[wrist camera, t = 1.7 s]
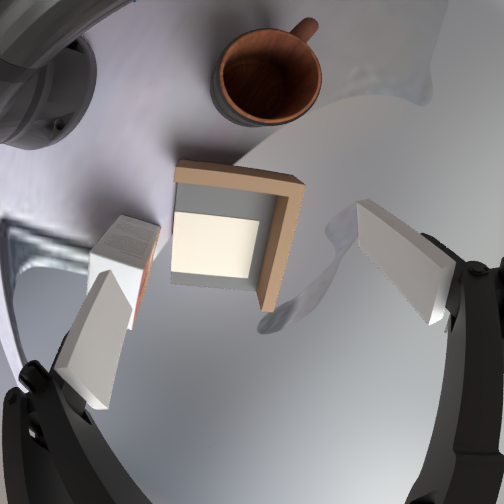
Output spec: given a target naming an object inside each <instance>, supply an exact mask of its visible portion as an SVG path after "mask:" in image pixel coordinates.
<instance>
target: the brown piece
mask: <svg viewBox="0 0 504 504" xmlns="http://www.w3.org/2000/svg"><path fill="white" fill-rule="evenodd" d="M173 182H178V184H177V194H176V204H175V215H174V228H173V243H172V262H171V284H177V285H187V286H198V287H210V288H221V289H233V290H246V291H256V292H257V296H258V300H259V304H260V308H261V311H262V312H273V311H274V307H275V303H276V300H277V296H278V293H279V289H280V285H281V282H282V278H283V275H284V271H285V267H286V263H287V260H288V256H289V252H290V248H291V244H292V240H293V237H294V233H295V229H296V225H297V221H298V217H299V213H300V208H301V204H302V200H303V196H304V192H305V188H306V185H305V184H304V183H303V182H301V181H300V180H299V179H297V178H296V177H295V176H293V175H289V174H283V173H278V172H272V171H265V170H260V169H253V168H246V167H240V166H233V165H226V164H218V163H210V162H201V161H192V160H182V159H181V160H180V161H179V162H178V164H177V165H176V166H175V172H174V181H173Z"/></svg>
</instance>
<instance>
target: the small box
mask: <svg viewBox="0 0 504 504" xmlns="http://www.w3.org/2000/svg"><path fill="white" fill-rule="evenodd" d="M160 230H161V227H160V226H157V225H154V224H151V223H148V222H144V221H141V220H138V219H135V218H131V217H128V216H125V215H120V216H119V217H118V218H117V219H116V220H115V222H114V223H113V224H112V225H111V226H110V227H109V229H108V230H107V231H106V232H105V233H104V234H103V236H102V237H101V238H100V239H99V241H98V242H97V243H96V244H95V245H94V247H93V248H92V249H91V251H90V252H89V267H88V281H87V295H88V293H89V291H90V289H91V287H92V285H93V283H94V282H95V280H96V278H97V276H98V274H99V273H100V272H103V271H107V270H110V269H111V271H112V273H113V275H114V276H115V278H116V280H117V282H118V284H119V286H120V288H121V289H122V291H123V293H124V295H125V297H126V298H127V300H128V302H129V304H130V305H131V307H132V309H133V310H132V313H131V317H130V320H129V324H128V327H127V329H130V330H132V329H133V326H134V322H135V319H136V316H137V312H138V309H139V306H140V303H141V300H142V297H143V293H144V290H145V287H146V284H147V281H148V278H149V273H150V268H151V264H152V260H153V256H154V252H155V248H156V245H157V241H158V237H159V234H160ZM87 295H86V297H87Z"/></svg>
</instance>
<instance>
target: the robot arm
mask: <svg viewBox="0 0 504 504" xmlns="http://www.w3.org/2000/svg"><path fill="white" fill-rule="evenodd" d="M136 1H138V0H0V144H6V145H9V146H13V147H16V148H20V149H24V150H35V149H40V148H43V147H47V146H50V145H53V144H55V143H57V142H59V141H60V140H62V139H63V138H65V137H66V136H67V135H68V134H69V133H70V132H71V131H72V130H73V129H74V128H75V127H76V126H77V124H78V123H79V122H80V120H81V119H82V117H83V116H84V114H85V112H86V110H87V108H88V106H89V104H90V102H91V99H92V96H93V93H94V89H95V84H96V76H97V69H96V61H95V57H94V54H93V51H92V49H91V48H90V46H89V45H88V43H87V42H86V41H85V40H83V39H82V38H80V37H79V36H80V35H82V34H83V33H84V32H86V31H87V30H88V29H90V28H91V27H92V26H94V25H95V24H97V23H98V22H100V21H101V20H103V19H104V18H106V17H107V16H109V15H111V14H112V13H114V12H116V11H117V10H119V9H120V8H122V7H124V6H126V5H127V4H129V3H131V2H136ZM356 203H357V218H358V237H359V248H360V249H361V251H362V252H363V253H364V254H365V255H366V256H367V257H368V258H369V259H370V260H371V261H372V262H373V263H374V264H375V265H376V266H377V267H378V269H380V271H381V272H382V273H383V274H384V275H385V276H386V277H387V278H388V279H389V280H390V281H391V283H392V284H393V285H394V286H395V287H396V288H397V289H398V291H399V292H400V293H401V294H402V295H403V296H404V297H405V298H406V300H407V301H408V302H409V303H410V304H411V306H412V307H413V308H414V309H415V310H416V311H417V313H418V314H419V315H420V316H421V317H422V318H423V320H424V321H425V322H426V323H427V325H428V326H429V325H431V324H433V323H435V322H437V321H439V320H441V319H442V317H443V314H444V310H445V307H446V309H447V310H448V311H449V312H450V317H449V319H448V323H447V326H446V329H445V333H446V332H447V330H448V339H447V353H446V361H445V370H444V378H443V384H442V390H441V396H440V401H439V407H438V411H437V416H436V420H435V425H434V430H433V433H432V437H431V440H430V444H429V448H428V451H427V454H426V458H425V461H424V464H423V467H422V470H421V472H420V475H419V477H418V478H417V480H416V482H415V483H414V485H413V487H412V489H411V491H410V493H409V495H408V497H407V499H406V502H405V504H496V501H497V498H498V494H499V490H500V487H501V482H502V478H503V474H504V455H503V454H501V453H500V452H499V449H498V448H499V439H500V431H501V421H502V410H503V384H504V382H503V381H504V375H503V372H504V257H503V258H502V260H501V264H500V267H499V268H492V269H489V268H488V267H487V266H486V265H485V264H483V263H481V262H478V261H468V262H465V261H464V260H462V259H461V258H460V257H459V256H458V255H456V254H455V253H454V252H453V251H451V250H450V249H449V248H446V246H445V245H443V244H442V243H440V242H439V241H438V240H437V239H435V238H434V237H432V236H430V235H427V234H425V233H421V234H419V233H418V232H417V231H415V230H414V229H412V228H411V227H410V226H408V225H407V224H406V223H404V222H403V221H401V220H400V219H398V218H397V217H396V216H394V215H393V214H391V213H390V212H388V211H387V210H385V209H384V208H382V207H381V206H379V205H378V204H376V203H375V202H373V201H371V200H370V199H366V200H362V201H358V202H356ZM132 310H133V309H132V307H131V305H130V304H129V302H128V300H127V298H126V297H125V295H124V293H123V291H122V289H121V288H120V286H119V284H118V282H117V280H116V278H115V276H114V275H113V273H112V271H111V269H110V270H107V271H103V272H100V273H99V274H98V276H97V278H96V280H95V282H94V283H93V285H92V287H91V289H90V291H89V293H88V295H87V297H86V299H85V301H84V302H83V305H82V307H81V309H80V310H79V313H78V315H77V317H76V319H75V321H74V323H73V325H72V327H71V329H70V330H69V331H68V333H67V334H66V335H65V336H64V338H63V341H62V343H61V346H60V347H59V350H58V353H57V354H56V357H55V359H54V362H53V364H52V367H51V369H50V371H49V373H48V372H47V371H46V369H45V368H44V367H43V366H42V365H41V364H40V363H39V361H37V360H32V361H30V362H28V363H27V364H26V365H25V366H24V367H23V368H22V370H21V371H20V374H19V381H20V382H21V384H22V385H23V386H24V387H25V388H26V389H27V390H28V391H29V392H28V393H24V392H23V391H22V390H21V389H20V388H19V387H14V388H12V389H10V390H9V391H8V392H7V393H6V396H5V398H4V403H3V420H2V450H3V467H4V479H5V486H6V493H7V500H8V504H152V503H151V502H150V500H149V499H148V498H147V497H146V496H145V494H144V493H143V492H142V491H141V490H140V488H139V487H138V486H137V485H136V483H135V482H134V481H133V480H132V478H131V477H130V476H129V474H128V473H127V471H126V470H125V469H124V467H123V466H122V464H121V463H120V462H119V460H118V459H117V457H116V456H115V454H114V453H113V451H112V450H111V448H110V447H109V445H108V444H107V442H106V440H105V439H104V437H103V436H102V434H101V432H100V431H99V429H98V427H97V425H96V424H95V422H94V420H93V419H92V417H91V415H90V413H89V412H88V411H87V410H86V409H85V405H86V402H87V403H88V404H89V405H90V406H91V407H93V408H94V409H108V408H109V402H110V398H111V393H112V388H113V383H114V379H115V374H116V369H117V366H118V362H119V357H120V353H121V349H122V345H123V341H124V338H125V334H126V331H127V327H128V324H129V320H130V317H131V313H132ZM29 429H30V430H31V431H33V432H34V433H35V438H34V437H32V436H31V435H30V433H29Z"/></svg>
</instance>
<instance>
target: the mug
mask: <svg viewBox="0 0 504 504" xmlns="http://www.w3.org/2000/svg"><path fill="white" fill-rule="evenodd" d="M317 29H318V22H317V21H316V20H315V19H313V18H309V17H308V18H305V19H303V20H302V21H301V22H300V23H299V24H298V25H296V26H295V27H294V28H293V29H292V30H291V31H290V32H289V33H288V32H285V31H282V30H278V29H270V28H265V29H257V30H252V31H249V32H246V33H244V34H242V35H240V36H239V37H237V38H235V39H234V40H233V41H232V42H231V43H230V44H229V45H228V46H227V47H226V48H225V49H224V51H223V52H222V54H221V56H220V58H219V61H218V64H217V66H216V69H215V72H214V74H213V77H212V80H211V97H212V100H213V103H214V105H215V107H216V108H217V110H218V111H219V112H220V113H221V115H223V116H224V117H225V118H226V119H228V120H229V121H231V122H233V123H235V124H237V125H241V126H245V127H261V126H277V125H282V124H287V123H289V122H292V121H294V120H296V119H298V118H300V117H301V116H302V115H304V114H305V113H306V112H307V111H308V110H309V109H310V108H311V107H312V106H313V104H314V103H315V101H316V99H317V97H318V95H319V92H320V89H321V84H322V73H321V68H320V64H319V61H318V59H317V57H316V55H315V54H314V52H313V51H312V50H311V48H310V47H309V46H308V45H307V44H306V42H307V41H308V40H309V39H310V38H311V37H312V36H313V34H314V33H315V32H316V31H317Z"/></svg>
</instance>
